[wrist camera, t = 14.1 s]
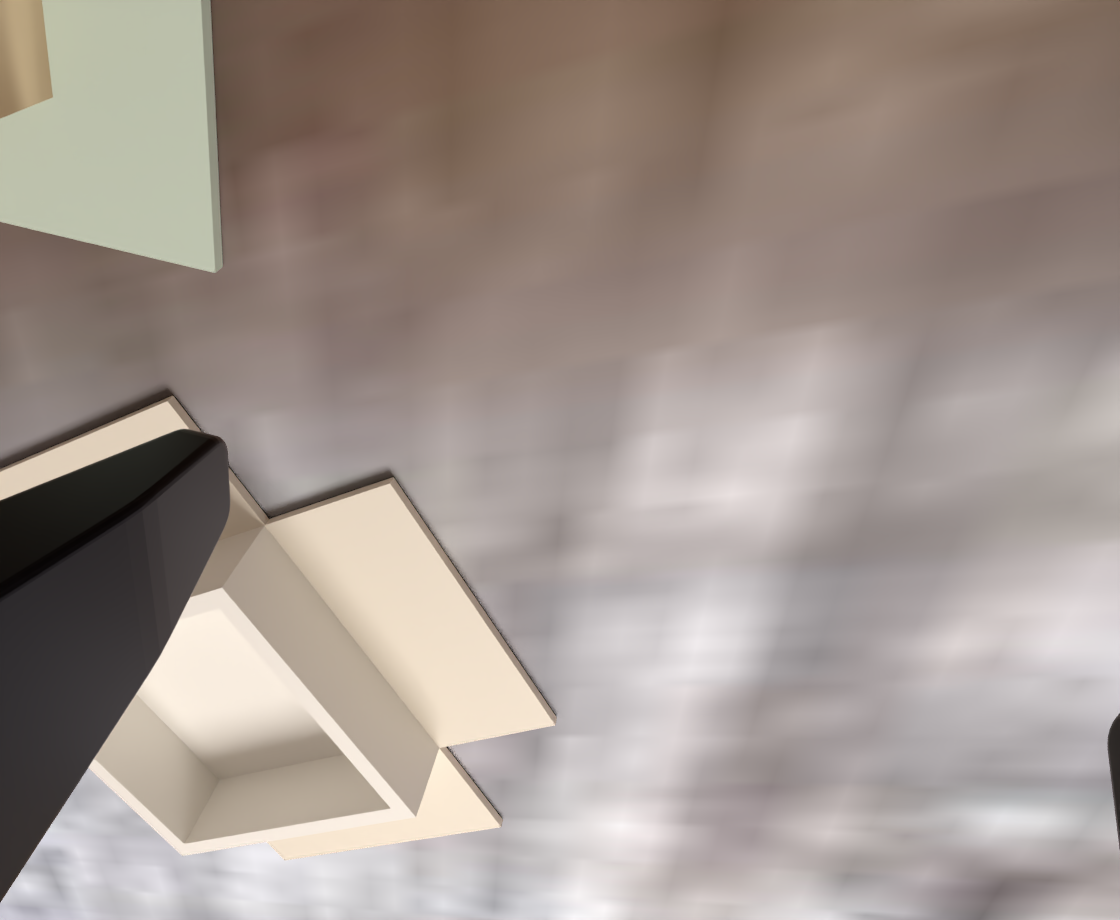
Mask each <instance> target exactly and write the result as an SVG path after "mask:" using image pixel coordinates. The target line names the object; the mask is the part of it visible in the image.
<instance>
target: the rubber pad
mask: <svg viewBox="0 0 1120 920" xmlns="http://www.w3.org/2000/svg"><path fill="white" fill-rule="evenodd" d="M42 6H43V14H44V23H45V32H46V41H47V49H48V58H49V67H50V76H51V85H52V93H53V98H50V99H48V100H45V101H43V102H40V103H38V104H35V105H33V106H30V107H28V108H25V109H23V110H20V111H18V112H15V113H13V114H11V115H8V116H6V117H3V118H1V119H0V222H4V223H8V224H12V225H16V226H20V227H25V228H29V229H33V230H37V231H41V232H46V233H50V234H54V235H58V236H62V237H67V238H71V239H75V240H79V241H83V242H88V243H92V244H96V245H100V246H104V247H109V248H113V249H117V250H121V251H125V252H129V253H134V254H138V255H142V256H146V257H150V258H155V259H159V260H163V261H167V262H171V263H176V264H180V265H184V266H188V267H192V268H197V269H201V270H205V271H209V272H213V273H216V272H217V271H218V270H219V269H221V268H222V267H223V257H222V236H221V215H220V194H219V172H218V151H217V130H216V108H215V87H214V66H213V45H212V23H211V2H210V0H42Z"/></svg>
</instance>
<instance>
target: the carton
mask: <svg viewBox="0 0 1120 920" xmlns="http://www.w3.org/2000/svg"><path fill="white" fill-rule="evenodd" d="M179 429H190V430H194V431H198V432H201V431H200V429H199V428H198V427H197V426H196V424H195V423H194V422H193V420H192V419H191V418H190V417H189V415H188V414H187V413H186V411H185V410H184V409H183V408H182V406H181V405H180V404H179V402H178V401H177V400H176V399H175V397H174V396H171V397H168V398H166V399H164V400H161V401H159V402H157V403H154V404H152V405H149V406H147V407H145V408H142V409H140V410H138V411H135V412H133V413H131V414H128V415H126V416H124V417H121V418H119V419H117V420H114V421H112V422H110V423H107V424H105V425H102V426H100V427H98V428H95V429H93V430H91V431H88V432H86V433H84V434H81V435H79V436H77V437H74V438H72V439H70V440H67V441H65V442H63V443H60V444H58V445H55V446H53V447H51V448H48V449H46V450H44V451H41V452H39V453H37V454H34V455H32V456H30V457H27V458H25V459H23V460H20V461H18V462H15V463H13V464H11V465H8V466H6V467H4V468H1V469H0V500H2V499H5V498H7V497H10V496H12V495H15V494H17V493H20V492H22V491H25V490H27V489H30V488H32V487H35V486H37V485H40V484H42V483H45V482H47V481H50V480H52V479H55V478H57V477H60V476H62V475H65V474H67V473H70V472H72V471H75V470H77V469H80V468H83V467H85V466H88V465H90V464H93V463H95V462H98V461H100V460H103V459H105V458H108V457H110V456H113V455H115V454H118V453H120V452H123V451H125V450H128V449H130V448H133V447H135V446H138V445H140V444H143V443H145V442H148V441H150V440H153V439H155V438H158V437H160V436H163V435H165V434H168V433H170V432H173V431H176V430H179ZM229 484H230V512H229V516H228V520H227V523H226V526H225V528H224V530H223V532H222V534H221V536H220V538H219V540H218V542H217V544H216V546H215V548H214V550H213V552H212V554H211V556H210V558H209V560H208V562H207V564H206V566H205V568H204V570H203V572H202V574H201V576H200V578H199V580H198V582H197V584H196V586H195V588H194V590H193V592H192V594H191V597H190V599H189V601H188V603H187V605H186V607H185V609H184V611H183V613H182V615H181V617H180V619H179V621H178V623H177V625H176V627H175V629H174V631H173V633H172V635H171V637H170V639H169V640H168V642H167V644H166V646H165V648H164V650H163V652H162V654H161V655H160V657H159V659H158V660H157V662H156V664H155V665H154V667H153V668H152V670H151V672H150V673H149V675H148V677H147V678H146V680H145V681H144V683H143V684H142V686H141V687H140V689H139V690H138V692H137V694H136V695H135V697H134V698H133V700H132V701H131V703H130V704H129V706H128V707H127V709H126V710H125V712H124V713H123V715H122V717H121V718H120V720H119V721H118V723H117V724H116V726H115V727H114V729H113V730H112V732H111V733H110V735H109V736H108V738H107V740H106V741H105V743H104V744H103V746H102V747H101V749H100V750H99V752H98V753H97V755H96V756H95V758H94V760H93V761H92V763H91V764H90V766H89V767H88V768H89V769H90V770H91V771H93V772H94V773H95V774H96V775H97V776H98V777H99V778H100V779H101V780H102V781H103V782H104V783H105V784H106V785H107V786H109V787H110V788H111V789H112V790H113V791H114V792H115V793H116V794H117V795H118V796H119V797H120V798H121V799H122V800H123V801H125V802H126V803H127V804H128V805H129V806H130V807H131V808H132V809H133V810H134V811H135V812H136V813H137V814H138V815H139V816H140V817H142V818H143V819H144V820H145V821H146V822H147V823H148V824H149V825H150V826H151V827H152V828H153V829H154V830H155V831H156V832H158V833H159V834H160V835H161V836H162V837H163V838H164V839H165V840H166V841H167V842H168V843H169V844H170V845H171V846H172V847H174V848H175V849H176V850H177V851H178V852H179V853H180V854H181V855H182V856H185V855H191V854H197V853H203V852H209V851H215V850H221V849H227V848H233V847H239V846H245V845H251V844H257V843H263V842H267V843H268V844H269V845H270V846H271V847H272V848H273V849H274V850H275V851H276V852H277V853H278V854H279V855H280V856H281V857H282V858H283V859H284V860H290V859H297V858H303V857H310V856H316V855H323V854H329V853H336V852H342V851H349V850H355V849H362V848H368V847H375V846H381V845H388V844H394V843H401V842H407V841H414V840H420V839H427V838H433V837H440V836H446V835H453V834H459V833H466V832H472V831H479V830H485V829H492V828H498V827H501V826H502V822H503V819H502V818H501V817H500V815H499V814H498V813H497V812H496V810H495V809H494V808H493V806H492V805H491V804H490V803H489V801H488V800H487V799H486V797H485V796H484V795H483V794H482V792H481V791H480V790H479V788H478V787H477V786H476V785H475V783H474V782H473V781H472V779H471V778H470V777H469V776H468V774H467V773H466V772H465V770H464V769H463V768H462V767H461V765H460V764H459V763H458V761H457V760H456V759H455V758H454V756H453V755H452V754H451V752H450V751H449V750H448V748H447V746H452V745H457V744H462V743H467V742H473V741H478V740H483V739H488V738H493V737H498V736H503V735H508V734H513V733H518V732H523V731H528V730H533V729H538V728H544V727H549V726H554V725H555V724H556V720H557V717H556V716H555V714H554V713H553V711H552V710H551V709H550V707H549V706H548V704H547V703H546V701H545V700H544V698H543V697H542V695H541V694H540V692H539V691H538V689H537V688H536V686H535V685H534V683H533V682H532V680H531V679H530V678H529V676H528V675H527V673H526V672H525V670H524V669H523V667H522V666H521V664H520V663H519V661H518V660H517V658H516V657H515V655H514V654H513V652H512V651H511V650H510V648H509V647H508V645H507V644H506V642H505V641H504V639H503V638H502V636H501V635H500V633H499V632H498V630H497V629H496V627H495V626H494V624H493V623H492V622H491V620H490V619H489V617H488V616H487V614H486V613H485V611H484V610H483V608H482V607H481V605H480V604H479V602H478V601H477V599H476V598H475V596H474V595H473V594H472V592H471V591H470V589H469V588H468V586H467V585H466V583H465V582H464V580H463V579H462V577H461V576H460V574H459V573H458V571H457V570H456V568H455V567H454V566H453V564H452V563H451V561H450V560H449V558H448V557H447V555H446V554H445V552H444V551H443V549H442V548H441V546H440V545H439V543H438V542H437V540H436V539H435V538H434V536H433V535H432V533H431V532H430V530H429V529H428V527H427V526H426V524H425V523H424V521H423V520H422V518H421V517H420V515H419V514H418V512H417V511H416V510H415V508H414V507H413V505H412V504H411V502H410V501H409V499H408V498H407V496H406V495H405V493H404V492H403V490H402V489H401V487H400V486H399V484H398V483H397V482H396V480H395V479H394V477H392V478H389V479H386V480H383V481H380V482H377V483H374V484H371V485H368V486H365V487H362V488H359V489H356V490H353V491H350V492H348V493H345V494H342V495H339V496H336V497H333V498H330V499H327V500H324V501H321V502H318V503H315V504H312V505H309V506H306V507H303V508H300V509H297V510H294V511H291V512H288V513H285V514H282V515H279V516H276V517H273V518H270V519H269V518H268V517H267V516H266V514H265V513H264V512H263V511H262V509H261V508H260V507H259V505H258V504H257V503H256V502H255V500H254V499H253V498H252V496H251V495H250V494H249V493H248V491H247V490H246V489H245V487H244V486H243V485H242V484H241V482H240V481H239V480H238V478H237V477H236V476H235V475H234V473H233V472H232V471H231V469H230V468H229Z"/></svg>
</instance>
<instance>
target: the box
mask: <svg viewBox="0 0 1120 920" xmlns="http://www.w3.org/2000/svg"><path fill="white" fill-rule="evenodd" d="M50 98H53V93H52V85H51V76H50V67H49V58H48V49H47V41H46V32H45V23H44V14H43V6H42V0H0V119H1V118H3V117H6V116H8V115H11V114H13V113H15V112H18V111H20V110H23V109H25V108H28V107H30V106H33V105H35V104H38V103H40V102H43V101H45V100H48V99H50Z"/></svg>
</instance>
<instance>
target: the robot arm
mask: <svg viewBox="0 0 1120 920" xmlns="http://www.w3.org/2000/svg"><path fill="white" fill-rule="evenodd" d="M229 512H230V484H229V465H228V451H227V446H226V444H225V442H224V441H223V440H222V439H221V438H220V437H218V436H214V435H210V434H206V433H202V432H198V431H194V430H190V429H179V430H176V431H173V432H170V433H168V434H165V435H163V436H160V437H158V438H155V439H153V440H150V441H148V442H145V443H143V444H140V445H138V446H135V447H133V448H130V449H128V450H125V451H123V452H120V453H118V454H115V455H113V456H110V457H108V458H105V459H103V460H100V461H98V462H95V463H93V464H90V465H88V466H85V467H83V468H80V469H77V470H75V471H72V472H70V473H67V474H65V475H62V476H60V477H57V478H55V479H52V480H50V481H47V482H45V483H42V484H40V485H37V486H35V487H32V488H30V489H27V490H25V491H22V492H20V493H17V494H15V495H12V496H10V497H7V498H5V499H2V500H0V902H1V901H2V899H3V898H4V896H5V895H6V893H7V891H8V890H9V888H10V887H11V885H12V884H13V882H14V881H15V879H16V878H17V876H18V875H19V873H20V872H21V870H22V868H23V867H24V865H25V864H26V862H27V861H28V859H29V858H30V856H31V855H32V853H33V852H34V850H35V848H36V847H37V845H38V844H39V842H40V841H41V839H42V838H43V836H44V835H45V833H46V832H47V830H48V829H49V827H50V825H51V824H52V822H53V821H54V819H55V818H56V816H57V815H58V813H59V812H60V810H61V809H62V807H63V806H64V804H65V802H66V801H67V799H68V798H69V796H70V795H71V793H72V792H73V790H74V789H75V787H76V786H77V784H78V783H79V781H80V779H81V778H82V776H83V775H84V773H85V772H86V770H87V769H88V767H89V766H90V764H91V763H92V761H93V760H94V758H95V756H96V755H97V753H98V752H99V750H100V749H101V747H102V746H103V744H104V743H105V741H106V740H107V738H108V736H109V735H110V733H111V732H112V730H113V729H114V727H115V726H116V724H117V723H118V721H119V720H120V718H121V717H122V715H123V713H124V712H125V710H126V709H127V707H128V706H129V704H130V703H131V701H132V700H133V698H134V697H135V695H136V694H137V692H138V690H139V689H140V687H141V686H142V684H143V683H144V681H145V680H146V678H147V677H148V675H149V673H150V672H151V670H152V668H153V667H154V665H155V664H156V662H157V660H158V659H159V657H160V655H161V654H162V652H163V650H164V648H165V646H166V644H167V642H168V640H169V639H170V637H171V635H172V633H173V631H174V629H175V627H176V625H177V623H178V621H179V619H180V617H181V615H182V613H183V611H184V609H185V607H186V605H187V603H188V601H189V599H190V597H191V594H192V592H193V590H194V588H195V586H196V584H197V582H198V580H199V578H200V576H201V574H202V572H203V570H204V568H205V566H206V564H207V562H208V560H209V558H210V556H211V554H212V552H213V550H214V548H215V546H216V544H217V542H218V540H219V538H220V536H221V534H222V532H223V530H224V528H225V526H226V523H227V520H228V516H229ZM1108 756H1109V764H1110V772H1111V781H1112V789H1113V797H1114V806H1115V814H1116V823H1117V831H1118V839H1119V848H1120V714H1119V715H1118V716H1117V717H1116V719H1115V720H1114V722H1113V724H1112V726H1111V728H1110V731H1109V735H1108Z"/></svg>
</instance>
